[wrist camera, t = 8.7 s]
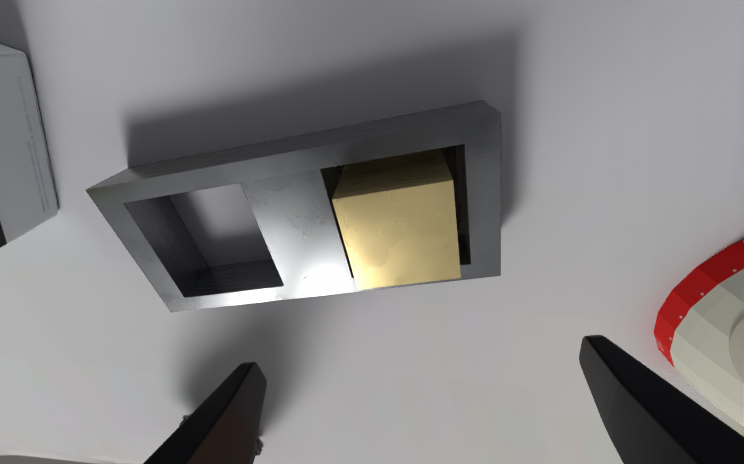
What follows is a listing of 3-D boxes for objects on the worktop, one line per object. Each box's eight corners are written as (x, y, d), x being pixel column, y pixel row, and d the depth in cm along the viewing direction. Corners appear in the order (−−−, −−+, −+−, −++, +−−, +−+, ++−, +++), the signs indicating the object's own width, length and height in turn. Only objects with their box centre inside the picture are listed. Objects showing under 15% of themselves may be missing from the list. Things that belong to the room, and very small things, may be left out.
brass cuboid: (365, 236, 20) (357, 289, 16) (347, 160, 18) (331, 199, 14) (446, 225, 20) (460, 277, 15) (438, 143, 17) (453, 180, 13)
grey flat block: (195, 281, 23) (170, 312, 21) (127, 168, 19) (85, 189, 16) (487, 244, 20) (500, 275, 18) (483, 100, 16) (500, 113, 13)
